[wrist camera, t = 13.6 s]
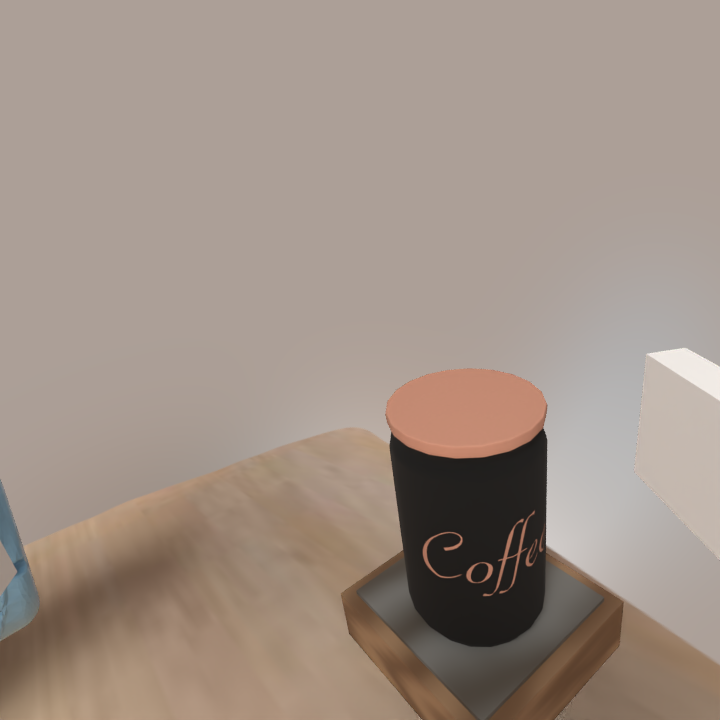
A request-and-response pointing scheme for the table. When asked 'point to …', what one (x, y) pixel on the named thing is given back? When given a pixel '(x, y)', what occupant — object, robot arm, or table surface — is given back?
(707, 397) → the robot arm
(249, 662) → the table surface
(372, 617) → the walnut stand
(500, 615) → the coffee jar
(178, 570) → the table surface
